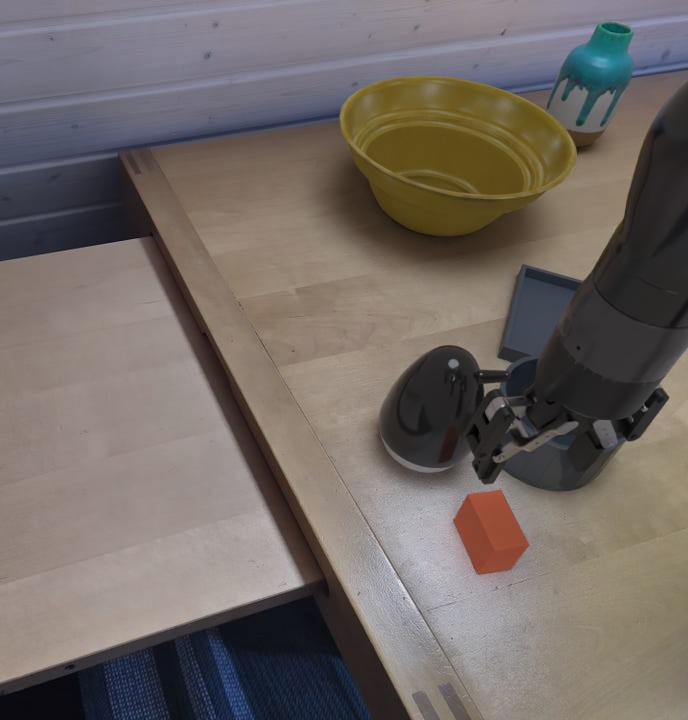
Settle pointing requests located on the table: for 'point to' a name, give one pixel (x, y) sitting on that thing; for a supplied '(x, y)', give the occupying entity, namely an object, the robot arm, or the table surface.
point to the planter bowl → (453, 151)
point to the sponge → (490, 532)
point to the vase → (593, 82)
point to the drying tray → (535, 311)
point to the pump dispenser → (434, 408)
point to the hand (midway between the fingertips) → (529, 469)
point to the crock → (549, 459)
